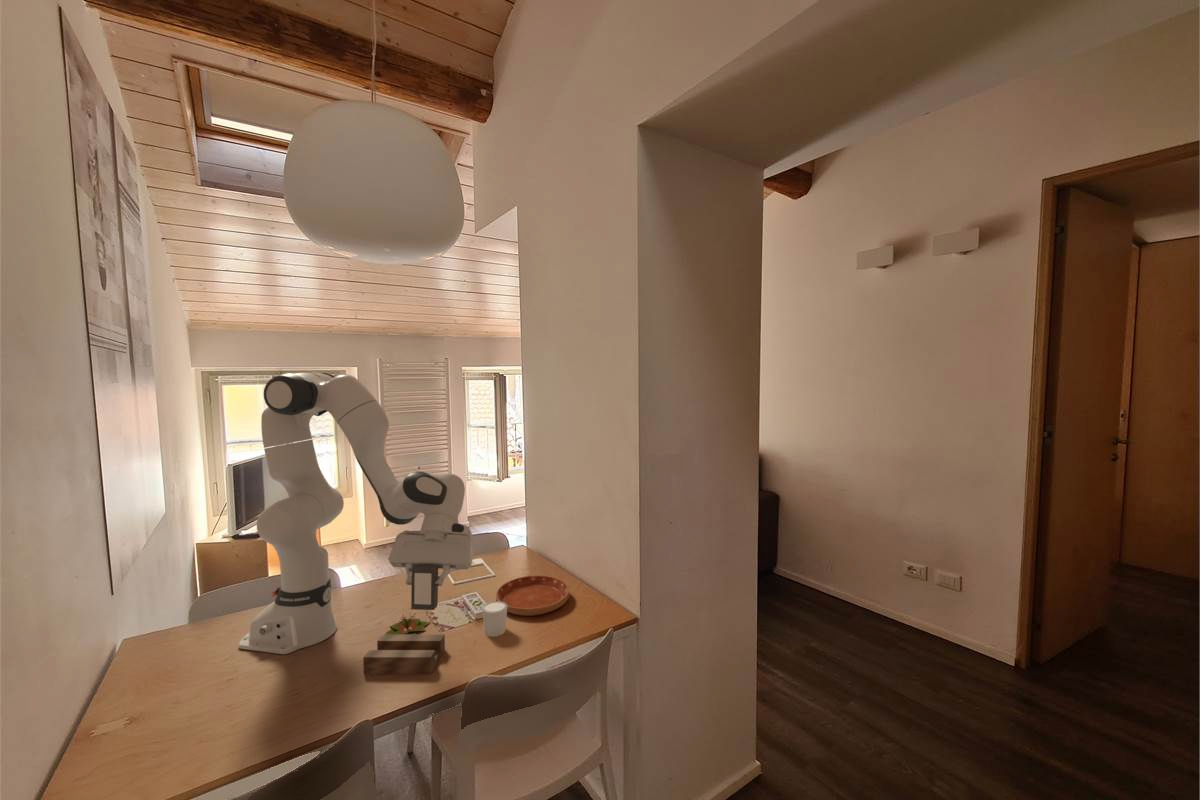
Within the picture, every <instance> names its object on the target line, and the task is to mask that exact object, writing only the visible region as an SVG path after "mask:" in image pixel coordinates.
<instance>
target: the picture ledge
mask: <svg viewBox="0 0 1200 800" xmlns="http://www.w3.org/2000/svg"><path fill="white" fill-rule="evenodd" d="M445 636H446V635H445V634H416V635H412V634H410V633H407V634H386V633H383V634H382V635H381V636H380V637H379V638H378V639H377V641H376V642H377V643H376V646H377V647H376V649H369V650H368V651H367V652H366V654H365V655H364V656H363V658H362V659H363V674H365V675H370V674H371V675H372V674H374V675H375V674H378V675H380V674H381V675H388V674H389V675H391V674H394V675H397V674H398V675H404V674H405V675H407V674H409V675H410V674H411V675H421V674H422V675H426V674H427V675H428V674H429V675H430V674H432V673H433V671H434V669H435V667H436V666H437V664H438V663H439V660H440V659H441V657H442V655H443V654H444V652H445V650H446V646H445V645H446V641H445V640H446V639H445V638H446V637H445Z"/></svg>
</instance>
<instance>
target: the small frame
mask: <svg viewBox="0 0 1200 800" xmlns="http://www.w3.org/2000/svg"><path fill="white" fill-rule="evenodd" d="M411 575H412V585H411V590H410V591H411V595H410V597H411V605H410V606H411V607H410V610H416V611H417V610H418V611H420V610H421V611H435V610H436V608H437V607H438V606H439V586H436V585H435V580H436V576H439V569H438V565H415V566H414V567H413V568H412V572H411Z"/></svg>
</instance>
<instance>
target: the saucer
mask: <svg viewBox="0 0 1200 800" xmlns="http://www.w3.org/2000/svg"><path fill="white" fill-rule="evenodd" d="M569 597H570V587H569V586H568V584H567V583H566V581H564V580H563V579H560V578H558V577H554V576H549V575H528V576H522V577H516V578H514V579H511V580H509V581H506V582H505V583H503V584H502V585H500V586H499V587H498V589H497V590H496V592H495V601H501V602H504V603H506V604H507V613H510V614H513V615H516V616H522V617H523V616H524V617H531V616H532V617H535V616H541V615H545V614H547V613H551V612H553V611H555V610H557V609H559V608H561V607H562V606H564V604H565V603H566V602H567V601H568V599H569Z"/></svg>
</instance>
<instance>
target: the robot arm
mask: <svg viewBox="0 0 1200 800" xmlns="http://www.w3.org/2000/svg"><path fill="white" fill-rule="evenodd" d="M263 400H264V402H265V404H266V406H267V407H266V408H265V409H264V410H263V411H262V413H261V420H260V421H261V422H260V423H261V437H262V438H261V439H262V444H263V449H264V455H265V460H266V465H267V469H268V473H269V476H270V477H271V479H273V480H274V481H275V482H278V483H280V484H281V485H282V487H283V488H284V489H285V491H286V492H287V495H288V497H287V498H283V499H281V500H278V501H276V502H275V503H273V504H272V505H270V506H269V507H267V508H266V509H264V510H263V511H262V512H261V513H260V514H259V516H258V517H257V519H256V520H257V521H256V530H257V533H258V536H259V537H260V538H261V539H262V541H264V542H266V543H268V544H270V545H271V546H272V547H273V549H274V550H275V552H276V554H277V558H278V560H279V561H278V562H279V568H280V570H279V571H280V572H279V573H280V586H278V587H277V588H276V590H274V591H273V592H271V593H270V598H274V597H275V598H274V601H272V602H271V603H270V604H269V605H268V606H266V607H265V608H264V609H262V610H261V611H260V612H259V613H258V614H256V616H255V617H254V618H253V620H252V621H251V624H250V628H249V632H247V633H246V634H245V635H244V636H243V637H242V638H241V639H240V640H239V642H238V649H240V650H249V651H256V652H263V653H271V654H279V655H287V654H290V653H292V652H295V651H297V650H300V649H303V648H307V647H310V646H313V645H316V644H318V643H321V642H323V641H325V640H326V639H328V638H330V637H331V636H333V634H335V632H336V631H337V629H338V625H337V623H336V621H335V618H334V615H333V614H334V613H333V610H332V604H331V603H332V602H331V600H332V581H331V578H330V572H329V570H330V569H329V567H330V566H329V565H330V564H329V562H330V561H329V553H328V550H327V549H326V548H324V547H322V546H321V545H320V543H319V542H318V539H317V531H318V530H319V529H321V528H323V527H325V526H327V525H329V524H331V523H332V522H333V521H334V520H335V519H336V518H337V517H338V516H339V515H340V514H341V513H342V511H343V509H344V506H345V505H344V498H343V496H342V494H341V492H340V491H338V489H335V488H334V487H333V486H331V485H330V484H329V483H328V481H327V479H326V477H325V475H324V474H323V473H322V471H321V468H320V466H319V463H318V458H317V455H316V450H315V446H314V441H313V436H312V432H311V428H310V422H311V419H312V418H313V416H316V417H321V416H322V415H324V414H325V413H329V414H330V415H331V417H332V418H333V419H334V421H335V422H336V423H337V425H338V427H339V428H340V429H341V431H342V433H343V434H344V436H345V437H346V439H347V441H348V443H349V445H350V447H351V449H352V452H353V454H354V456H355V459H356V462H357V463H358V465H359V466H360V469H361V470H362V472H363V474H364V476H365V477H366V480H367V481H368V483H369V484H370V487H371V488H372V489H373V491H374V493H375V494H376V496H377V499H378V503H379V509H380V512H381V514H382V515H383V517H384V519H386V521H388V522H389V523H391V524H393V525H398V526H400V525H401V526H402V525H408V524H409V523H411V522H413V521H414V520H415V519H416V518H417V517H418V515H420V513H421V514H423V515H424V518H423V521H422V525H421V528H420V530H404V531H402V532H399V533H398V534H397V535H396V536H395V537H396V538H395V540H394V544H393V546H392V548H391V549H390V553H389V554H388V562H389V564H390V565H391V566H392V567H393V568H405V573H406V575H407V577H406V580H405V584H406V585H407V586H412V568H413V567H414V566H415V565H438V570H440V569H442V570H443V571H442V572H441V574H440V575H438V576H436V580H435V585H436V586H438V587H442V586H443V583H444V580H445V579H446V578H447V577H448V574H451V571H450V570H451V569H457V570H468V569H469V568H470V566H471V564H472V560H473V557H474V555H473V554H474V548H473V547H474V546H473V544H472V543H473V533H472V531H471V528H470V527H469V526H467V525H465V524H462V523H459V516H460V514H461V512H462V510H463V509H462V508H463V504H464V500H465V499H464V498H465V494H466V493H465V492H466V490H465V489H466V487H465V482H464V481H463V479H462V478H461V477H459V476H458V475H456V474H454V473H450V472H444V473H441V474H431V473H428V472H425V471H420V470H419V471H413V472H410V473H408V475H406V476H405V477H404V478H403V479H402V480H400V482H399V481H398V479H397V477H396V476H395V474H394V472H393V470H392V469H391V467H390V466H389V464H388V462H387V460H386V457H385V445H386V444H385V442H386V438H387V436H388V433H389V427H390V423H389V419H388V417H387V414H386V411H385V410H384V408H383V407H382V406H381V404H380V403H379V402H378V400H377V399H376V398H375V396H374V395H373V394H372V393H371V391H369V389H368V388H367V387H366V386H365V385H364V384H363V383H362V382H361V381H360V380H359V379H357V378H356V377H355V376H354V375H351V374H340V375H339V374H338V375H336V376H335V375H333V374H331V373H327V372H313V371H303V372H297V373H283V374H282V373H281V374H278V375H276V376H273V377H272V378H270V379H269V380H268V381H267V383H266V384H265V386H264V389H263Z"/></svg>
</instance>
